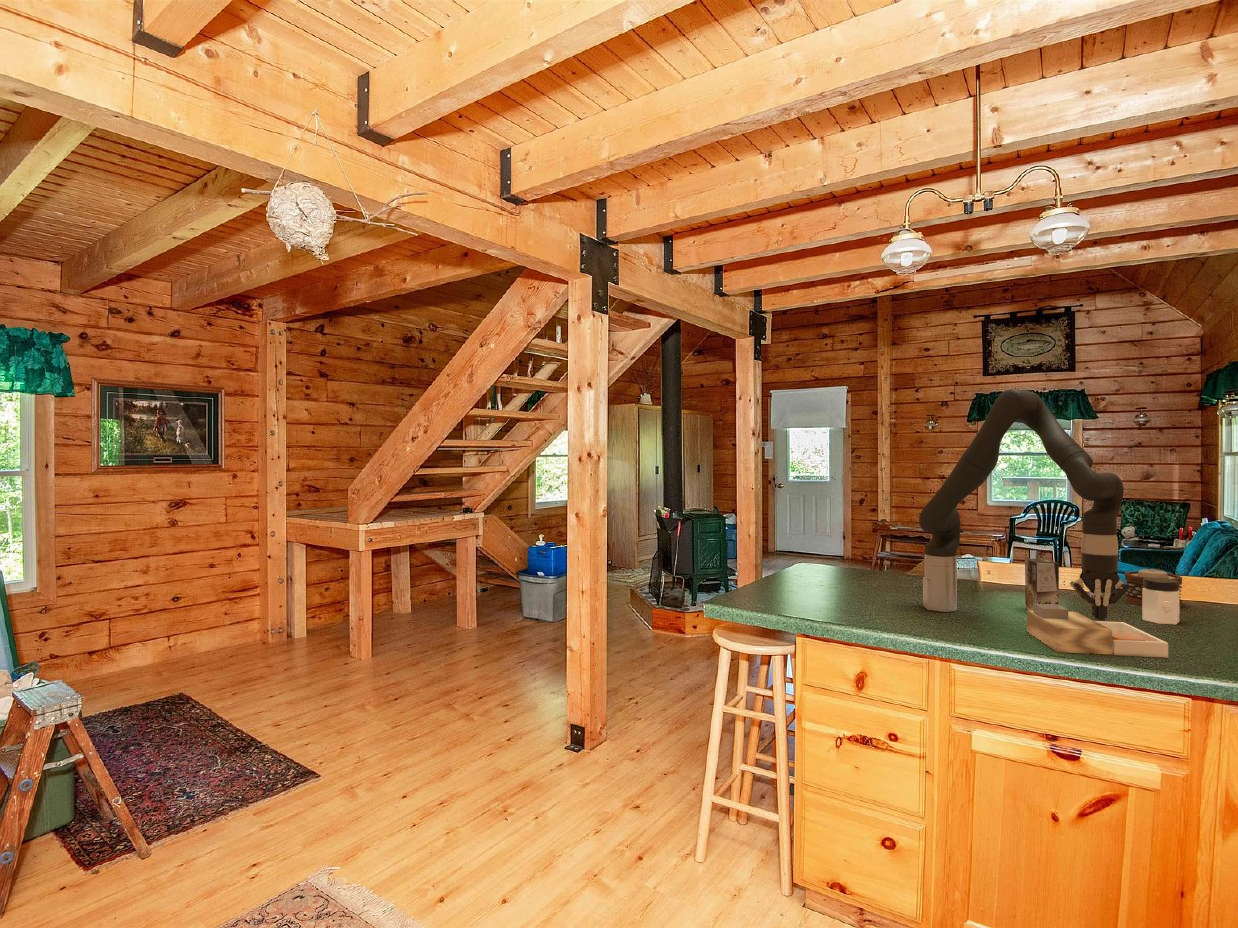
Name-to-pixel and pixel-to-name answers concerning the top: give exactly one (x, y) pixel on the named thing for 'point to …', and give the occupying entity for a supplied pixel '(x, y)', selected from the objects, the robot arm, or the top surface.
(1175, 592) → the jar
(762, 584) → the top surface
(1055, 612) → the slate tile
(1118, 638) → the terracotta tile
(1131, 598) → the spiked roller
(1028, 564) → the coffee box
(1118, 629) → the box
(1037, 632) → the board
